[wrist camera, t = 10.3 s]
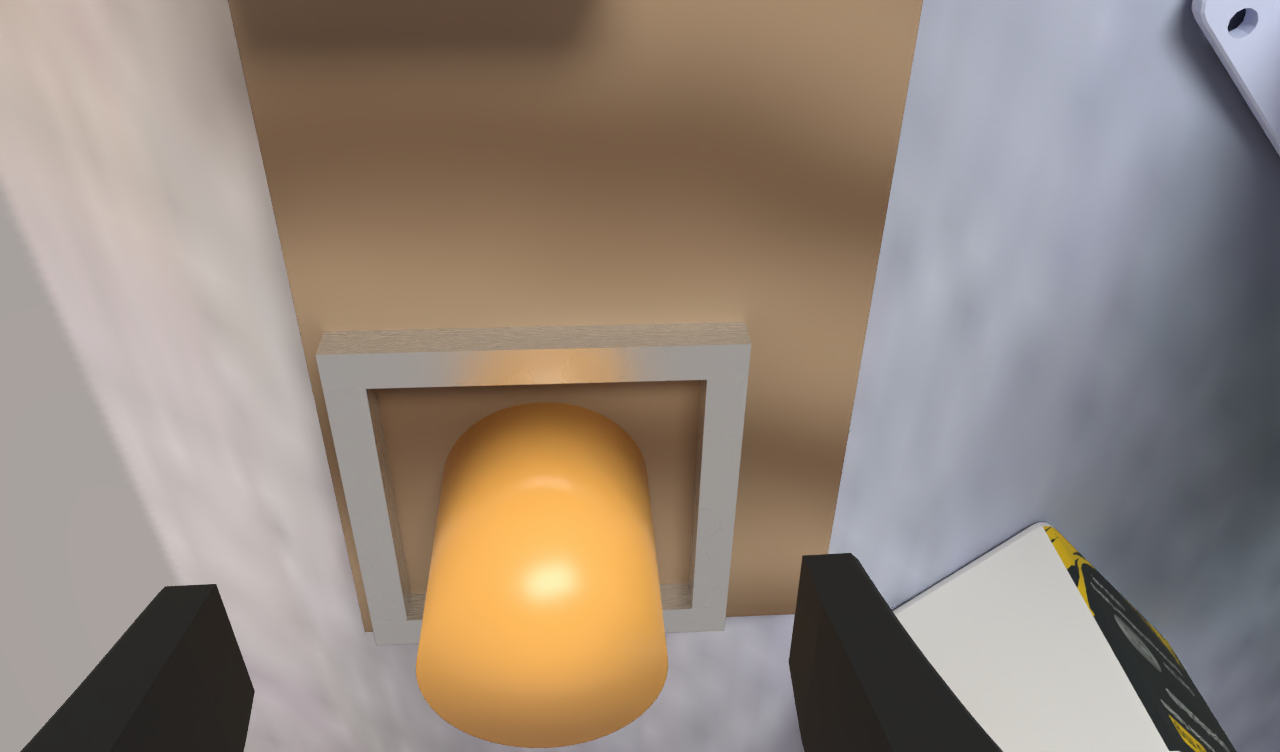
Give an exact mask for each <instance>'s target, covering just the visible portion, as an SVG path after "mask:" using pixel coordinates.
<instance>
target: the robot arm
mask: <svg viewBox="0 0 1280 752" xmlns="http://www.w3.org/2000/svg"><path fill="white" fill-rule="evenodd" d="M1244 8H1245V10H1246V14H1245V17H1244V20H1243V22H1242V23H1241V24H1240V25H1239V26H1238V27H1237V28H1235V29H1233V30H1232V31H1230V32H1228V28H1227V27H1228V25H1229V22H1230V19H1231V18H1232V17H1233V16H1234V15H1235V14H1236V12H1238V11H1240V10H1242V9H1244ZM1192 12H1193V15H1194V18H1195V20H1196V21H1197V23H1198V25H1199V26H1200V28H1201V30H1202V31H1203V33H1204V34H1205V36H1206V38H1207V39H1208V41H1209V43H1210V44H1211V46H1212V47H1213V49H1214V51H1215V52H1216V54H1217V56H1218V57H1219V59H1220V60H1221V62H1222V64H1223V65H1224V67H1225V69H1226V70H1227V72H1228V73H1229V75H1230V77H1231V78H1232V80H1233V82H1234V83H1235V85H1236V86H1237V88H1238V90H1239V91H1240V93H1241V95H1242V96H1243V98H1244V99H1245V101H1246V103H1247V104H1248V106H1249V108H1250V109H1251V111H1252V112H1253V114H1254V116H1255V117H1256V119H1257V121H1258V122H1259V124H1260V125H1261V127H1262V129H1263V130H1264V132H1265V134H1266V135H1267V137H1268V138H1269V140H1270V142H1271V143H1272V145H1273V147H1274V148H1275V150H1276V151H1277V153H1278V155H1279V156H1280V0H1193V1H1192ZM789 666H790V672H791V679H792V685H793V692H794V698H795V704H796V710H797V716H798V722H799V728H800V733H801V739H802V743H803V747H804V751H805V752H1003V751H1002V750H1001V749H1000V747H999V746H998V745H997V744H996V743H995V742H994V741H993V739H992V738H991V737H990V736H989V735H988V734H987V733H986V731H985V730H984V729H983V728H982V727H981V726H980V724H979V723H978V722H977V721H976V720H975V718H974V717H973V716H972V715H971V714H970V712H969V711H968V710H967V709H966V708H965V706H964V705H963V704H962V703H961V701H960V700H959V699H958V698H957V696H956V695H955V694H954V693H953V691H952V690H951V689H950V687H949V686H948V685H947V684H946V682H945V681H944V680H943V679H942V677H941V676H940V675H939V674H938V672H937V671H936V670H935V668H934V667H933V666H932V665H931V663H930V662H929V661H928V659H927V658H926V657H925V655H924V654H923V653H922V651H921V650H920V649H919V647H918V646H917V645H916V643H915V642H914V641H913V639H912V638H911V637H910V635H909V634H908V632H907V631H906V630H905V628H904V627H903V625H902V624H901V623H900V621H899V620H898V619H897V617H896V616H895V614H894V613H893V611H892V610H891V609H890V607H889V606H888V604H887V603H886V601H885V600H884V598H883V597H882V595H881V594H880V592H879V591H878V589H877V588H876V586H875V585H874V583H873V582H872V580H871V579H870V577H869V576H868V574H867V573H866V571H865V570H864V568H863V567H862V565H861V563H860V562H859V560H858V559H857V558H856V557H855V556H853V555H852V554H851V553H843V554H822V555H802V563H801V571H800V579H799V587H798V594H797V602H796V610H795V618H794V626H793V634H792V642H791V649H790V657H789ZM254 692H255V691H254V688H253V685H252V682H251V680H250V677H249V674H248V671H247V669H246V666H245V663H244V660H243V657H242V655H241V652H240V649H239V646H238V644H237V641H236V638H235V635H234V632H233V630H232V627H231V624H230V621H229V619H228V616H227V613H226V610H225V607H224V605H223V602H222V599H221V596H220V594H219V591H218V588H217V585H216V584H208V585H187V586H167V587H164V588H163V589H162V590H161V592H159V593H158V595H157V596H156V597H155V598H154V599H153V600H152V601H151V603H150V604H149V605H148V606H147V607H146V609H145V610H144V611H143V612H142V613H141V614H140V615H139V617H138V618H137V619H136V620H135V621H134V623H133V624H132V625H131V626H130V627H129V628H128V630H127V631H126V632H125V633H124V634H123V635H122V637H121V638H120V639H119V640H118V641H117V643H116V644H115V645H114V646H113V647H112V649H111V650H110V651H109V652H108V653H107V654H106V655H105V657H104V658H103V659H102V660H101V661H100V662H99V664H98V665H97V666H96V667H95V669H94V670H93V671H92V672H91V673H90V674H89V675H88V676H87V678H86V679H85V680H84V681H83V682H82V683H81V685H80V686H79V687H78V688H77V689H76V690H75V691H74V693H73V694H72V695H71V696H70V697H69V698H68V699H67V700H66V702H65V703H64V704H63V705H62V706H61V707H60V708H59V709H58V710H57V712H56V713H55V714H54V715H53V716H52V717H51V718H50V719H49V721H48V722H47V723H46V724H45V725H44V726H43V727H42V729H41V730H40V731H39V732H38V733H37V734H36V735H35V736H34V737H33V739H32V740H31V741H30V742H29V743H28V744H27V745H26V746H25V747H24V748H23V749H22V751H21V752H243V751H244V747H245V742H246V737H247V731H248V726H249V720H250V714H251V709H252V703H253V697H254Z"/></svg>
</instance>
